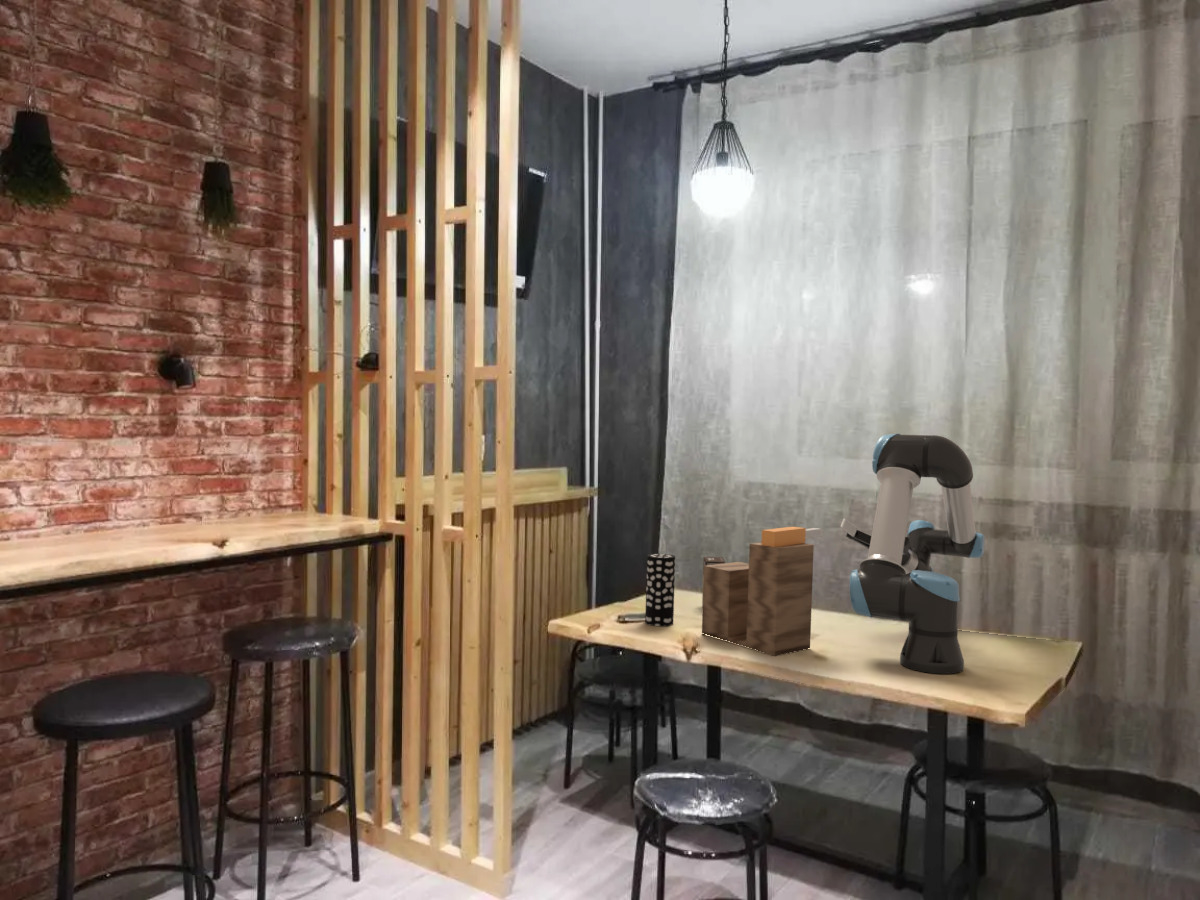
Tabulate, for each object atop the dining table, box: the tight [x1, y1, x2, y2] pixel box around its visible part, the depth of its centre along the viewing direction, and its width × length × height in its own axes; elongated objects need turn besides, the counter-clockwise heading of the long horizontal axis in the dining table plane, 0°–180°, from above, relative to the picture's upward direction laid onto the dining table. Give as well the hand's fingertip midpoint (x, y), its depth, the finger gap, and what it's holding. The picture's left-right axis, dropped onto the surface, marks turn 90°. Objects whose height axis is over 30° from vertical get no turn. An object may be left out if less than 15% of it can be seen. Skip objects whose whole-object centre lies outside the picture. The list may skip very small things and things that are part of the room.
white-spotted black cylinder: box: [644, 553, 676, 627], centre depth 271 cm, size 8×8×20 cm
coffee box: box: [701, 556, 726, 607], centre depth 293 cm, size 9×6×16 cm
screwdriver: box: [761, 526, 823, 547], centre depth 248 cm, size 24×4×4 cm, turn 133°
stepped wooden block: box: [701, 541, 815, 657], centre depth 252 cm, size 27×14×28 cm, turn 38°
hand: (862, 525), depth 261 cm, fingers open, 13 cm apart
